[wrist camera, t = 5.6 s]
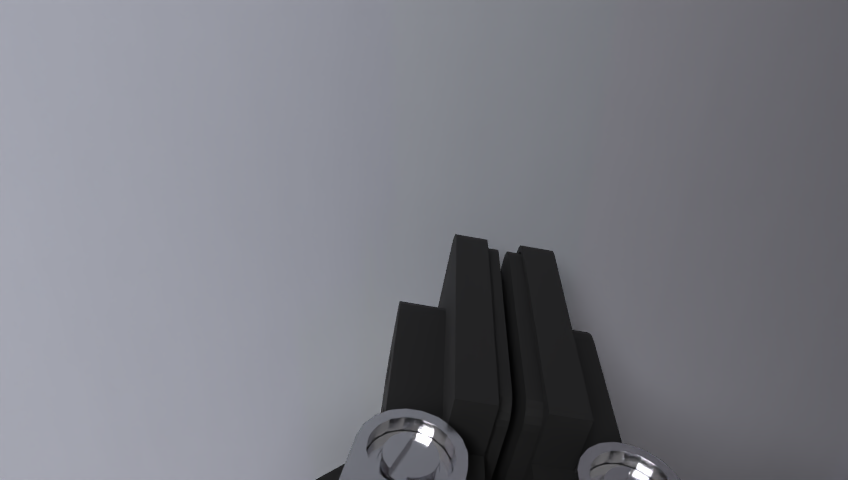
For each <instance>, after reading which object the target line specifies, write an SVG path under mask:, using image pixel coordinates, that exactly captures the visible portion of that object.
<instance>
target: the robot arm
mask: <svg viewBox="0 0 848 480" xmlns="http://www.w3.org/2000/svg"><path fill="white" fill-rule="evenodd" d="M316 480H680V478H679V477H678V475H677V474H676V473H675V472H674V471H673V470H672V469H671V468H670V467H669V466H668V465H667V464H666V463H665V462H663V461H662V460H661V459H659V458H657V457H656V456H654V455H653V454H651V453H649V452H648V451H646V450H643V449H641V448H638V447H636V446H633V445H630V444H624V443H622V442H621V438H620V434H619V431H618V427H617V424H616V420H615V416H614V413H613V409H612V405H611V402H610V398H609V395H608V391H607V387H606V384H605V380H604V376H603V373H602V369H601V366H600V362H599V358H598V355H597V351H596V347H595V344H594V341H593V338H592V336H591V335H590V334H589V333H587V332H581V331H575V330H572V327H571V323H570V319H569V315H568V310H567V306H566V302H565V298H564V293H563V289H562V285H561V281H560V277H559V272H558V268H557V264H556V260H555V256H554V253H553V251H549V250H544V249H538V248H532V247H526V246H520V247H519V248H518V251H517V253H512V252H507V253H506V254H505V257H504V260H503V264H502V267H501V271H500V262H499V252H498V250H494V249H489V248H488V242H487V240H486V239H480V238H474V237H468V236H462V235H456V234H455V236H454V239H453V243H452V247H451V252H450V256H449V261H448V265H447V270H446V274H445V279H444V283H443V288H442V292H441V297H440V301H439V306H438V308H437V307H431V306H425V305H419V304H413V303H408V302H402V301H400V303H399V307H398V312H397V317H396V323H395V328H394V334H393V339H392V345H391V350H390V356H389V362H388V368H387V374H386V381H385V388H384V394H383V402H382V409H381V413H380V414H377V415H375V416H373V417H372V418H371V419H369V420H368V421H367V422H365V423H364V424H363V425H362V427H361V429H360V430H359V432H358V433H357V435H356V437H355V440H354V442H353V445H352V447H351V450H350V452H349V455H348V458H347V460H346V463H345V464H343V465H342V466H340V467H338V468H336V469H334V470H332V471H331V472H329V473H327V474H325V475H323V476H322V477H320V478H318V479H316Z"/></svg>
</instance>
